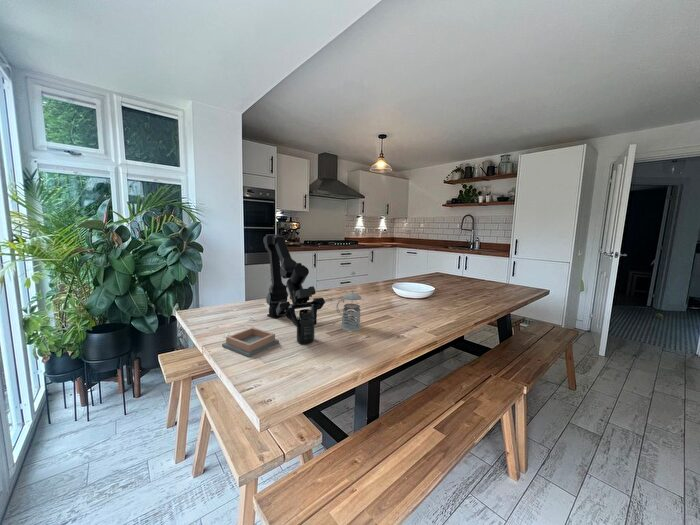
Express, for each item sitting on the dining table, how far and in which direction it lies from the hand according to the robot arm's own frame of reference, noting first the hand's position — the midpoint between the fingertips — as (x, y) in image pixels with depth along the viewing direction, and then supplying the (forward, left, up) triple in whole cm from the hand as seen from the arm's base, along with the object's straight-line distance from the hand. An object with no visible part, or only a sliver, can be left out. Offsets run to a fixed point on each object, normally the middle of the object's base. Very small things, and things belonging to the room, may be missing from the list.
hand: (307, 325), depth 107 cm
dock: (+13, -15, -7) cm, 21 cm away
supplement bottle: (-1, -1, -7) cm, 7 cm away
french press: (-24, +5, -7) cm, 25 cm away
